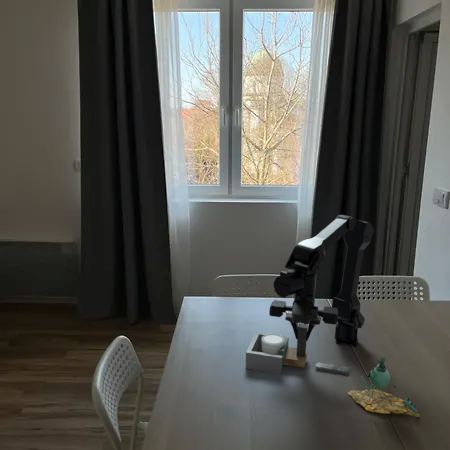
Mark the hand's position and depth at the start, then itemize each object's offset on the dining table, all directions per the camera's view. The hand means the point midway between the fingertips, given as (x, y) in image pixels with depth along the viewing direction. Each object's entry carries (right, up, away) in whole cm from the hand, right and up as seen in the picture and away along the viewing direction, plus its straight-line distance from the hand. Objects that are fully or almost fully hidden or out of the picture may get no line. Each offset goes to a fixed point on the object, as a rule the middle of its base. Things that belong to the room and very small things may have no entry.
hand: (302, 339), depth 133 cm
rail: (+8, -9, -1) cm, 12 cm away
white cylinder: (-8, -7, +4) cm, 12 cm away
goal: (-9, -7, +4) cm, 12 cm away
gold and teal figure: (+17, -13, -17) cm, 27 cm away
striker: (-2, -6, +2) cm, 7 cm away
